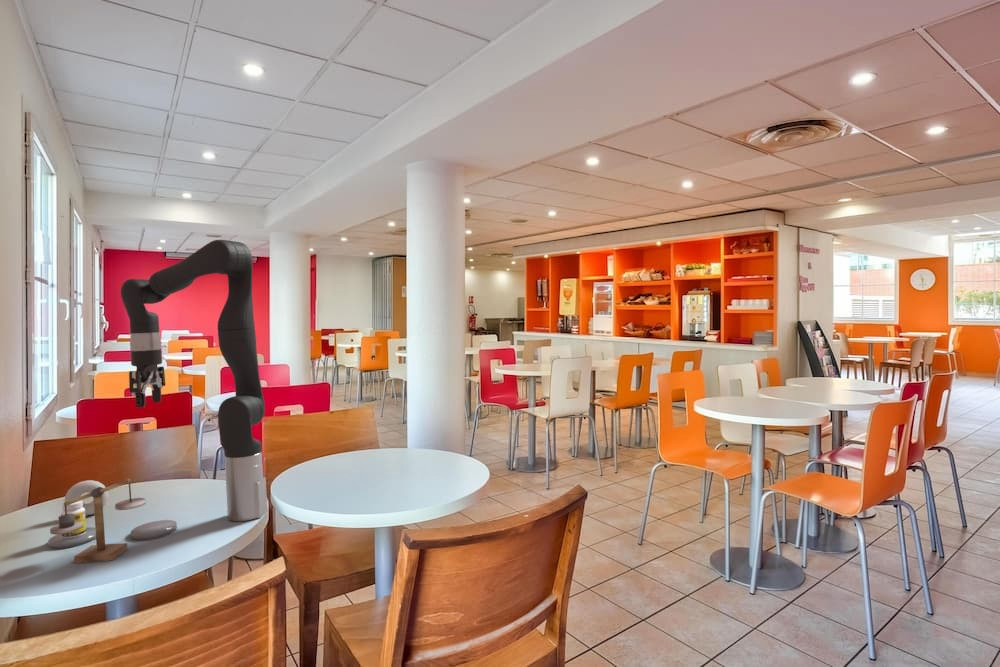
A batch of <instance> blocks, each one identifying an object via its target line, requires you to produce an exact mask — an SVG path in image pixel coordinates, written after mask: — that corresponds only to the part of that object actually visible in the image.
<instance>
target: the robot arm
mask: <svg viewBox="0 0 1000 667" xmlns="http://www.w3.org/2000/svg"><path fill="white" fill-rule="evenodd" d="M253 267H254V266H253V255H252V252H251V249H250V248H249V246H248V245H247V244H245V243H243V242H240V241H235V240H234V241H233V240H227V239H214V240H212V241H210V242H208V243H206V244H205V245H203V246H202V247H200V248H199V249H198V250H196V251H195V252H193V253H192V254H190V255H189V256H188V257H186V258H184V259H182V260H180V261H179V262H176V263H174V264H172V265H170V266H168V267H165V268H162V269H160V270H158V271H156V272H154V273H153V274H151V276H150V277H149V278H148V279H146V278H145V279H140V278H129V279H127V280H124V281H123V283H122V284H121V287H120V297H121V301H122V303H123V306H124V308H125V312H126V313H127V316H128V319H129V329H130V330H129V331H130V338H129V347H130V364H131V366H133V367H136V370H132V371H131V370H130V371H129V372H128V383H129V385H128V386H129V393H131V394H134V395H135V396H134V397H135V407H136V408H145V407H146V405H147V402H146V390H147V388H148V387H150V388H151V397H152V402H153V403H160V402H162V389H163V387H165V386H166V376H165V375H166V374H165V367H164V366H159V365H162V363H163V356H162V354H163V353H162V340H161V339H162V338H161V335H160V333H161V332H160V320H159V315H158V314H157V313H155V312H153V311H152V312H151V311H149V310H147V308H146V306H145V305H151V304H157V303H161V302H162V301H165V299H167V298H168V297H169V296H170V295H173V294H175V293H177V292H180V291H183V290H184V289H186V288H188V287H189V286H191V285H192V284H193V283H194V281H195V280H196V279H198V278H200V277H202V276H207V275H208V276H209V275H214V274H219V275H227V282H228V293H227V298H226V301H225V303H224V306H223V308H222V309H221V312H220V314H219V317H218V321H217V336H218V345H219V350H220V352H221V355H222V357H223V359H224V361H225V362H226V364H227V365H228V367H229V369H230V371H231V373H232V376H233V379H234V387H235V388H234V390H235V396H231V397H229V398H225V399H224V400H223V401H222V402H221V403H220V405H219V407H218V411H217V413H218V414H217V421H218V422H217V423H218V432H219V441H220V446H221V447H222V449H223V453H224V466H225V468H224V469H225V471H224V472H225V473H224V474H225V485H226V486H225V489H226V491H225V492H226V506H227V510H226V512H227V520H229V521H232V522H244V521H251V520H254V519H260V518H262V516H264V514H265V513H266V512H268V501H267V500H268V499H267V498H268V496H267V478H266V476H264V474H263V473H264V472H263V471H264V470H263V468H264V466H263V453H262V452H263V451H262V449H263V448H262V442H261V441H260V440H259V439H256V438H254V436H253V429H252V427H253V426H256V425H258V424H260V422H261V421H262V420H263V419H264V417H265V413H266V405H265V403H266V402H265V399H264V398H265V397H264V395H263V394H264V393H263V389H262V383H261V377H260V371H259V370H260V369H259V363H258V362H259V361H258V360H259V359H258V352H257V337H256V325H255V319H254V306H253V305H254V303H253Z"/></svg>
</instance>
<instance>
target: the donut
mask: <svg viewBox="0 0 1000 667" xmlns="http://www.w3.org/2000/svg"><path fill="white" fill-rule="evenodd" d="M98 487H102V488H105V487H106V486H105V485H104V484H103V483H101V482H100V481H97V480H92V479H91V480H90V479H89V480H88V479H87V480H83V481H79V482H77V483H75V484H73V485H72V486H71V487H70V488H69V489H68V490H67V492H66V494H65V496H64V502H63V503H65V502H67V501H70V500H73V499H75V498H78V497H81V496H83V494H85V493H87V494H89V493H91V491H92V490H94V489H96V488H98ZM109 497H110V496H109V490H108V491H106V492H104V494H103V495H102V502H103V508H104V507H105V506H106V505H107V502H108V501H109ZM82 507H83V508H84V509H85V517H87V516H88V515H89V516H91V515H95V513H94V499H93V500H92V501H91V502H89V503H83V506H82ZM89 516H88V517H89Z"/></svg>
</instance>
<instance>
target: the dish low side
mask: <svg viewBox="0 0 1000 667" xmlns="http://www.w3.org/2000/svg"><path fill="white" fill-rule="evenodd" d="M95 538H96V528H95V527H86V533H85V534H84V535H82V536H79V537H76V538H71V539H64V538H63V537H62V534H54V535H53V536H52V537H50V538H49V539H48V543H47V544H48V548H49V549H52V550H53V549H54V550H61V549H63V550H64V549H69V548H74V546H75V547H78V545H79V546H81V545H85V544H88V543H90V542H92V540H93V541H94V540H96V539H95Z"/></svg>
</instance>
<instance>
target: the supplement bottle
mask: <svg viewBox="0 0 1000 667" xmlns="http://www.w3.org/2000/svg"><path fill="white" fill-rule="evenodd" d="M82 506H83V500H81V501H78V502H76V503H73V504H70V505H67V506H66V507H67V514H74V521H82V522H83V527H82V528H80V529H78V530H76V531H73V532H69V533H64V534H62V537H63V538H64V539H71V538H76V537H79V536H82V535H84V534H85V533H86V528H87V524H86V523H87V522H86V516H85V509H84V508H83V507H82ZM62 515H65V507H64V504H63V503H62V511H61V512H60V516H62Z"/></svg>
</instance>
